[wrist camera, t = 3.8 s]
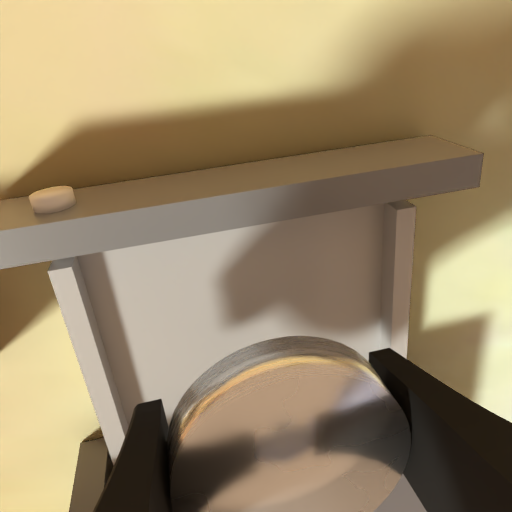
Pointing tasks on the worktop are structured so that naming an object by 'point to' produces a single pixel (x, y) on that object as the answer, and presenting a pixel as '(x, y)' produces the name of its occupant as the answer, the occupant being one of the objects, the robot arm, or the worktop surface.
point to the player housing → (100, 466)
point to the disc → (287, 432)
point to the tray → (230, 262)
